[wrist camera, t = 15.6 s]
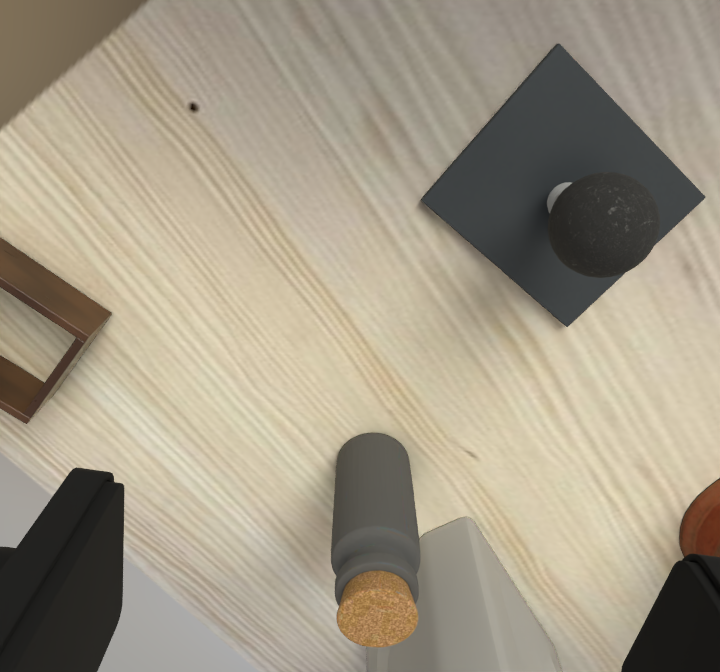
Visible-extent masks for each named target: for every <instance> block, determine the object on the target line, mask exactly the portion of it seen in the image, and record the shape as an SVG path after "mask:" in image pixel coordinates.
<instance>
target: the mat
mask: <svg viewBox="0 0 720 672" xmlns="http://www.w3.org/2000/svg"><path fill="white" fill-rule="evenodd" d="M600 172H615V173H620V174H624V175H627V176H630V177H632V178H634V179H636V180H637V181H638V182H640V183H641V184H643V185H644V186H645V187H646V188H647V189H648V190H649V192H650V193H651V194H652V195H653V197H654V199H655V201H656V204H657V206H658V210H659V214H660V229H659V235H658V237H657V240H656V243H658V242H659V241H660V240H661V239H662V238H663V237H664V236H665V235H666V234H667V233H668V232H669V231H670V230H671V229H672V228H674V227H675V226H676V225H677V224H678V223H679V222H680V221H681V220H682V219H683V218H684V217H685V216H686V215H687V214H688V213H690V212H691V211H692V210H693V209H694V208H695V207H696V206H697V205H698V204H699V203H700V202H701V201H702V200H703V199H704V198H705V196H704V195H703V194H702V193H701V192H700V191H699V190H698V189H697V187H696V186H695V185H694V184H693V183H692V182H691V181H690V180H689V179H688V178H687V177H686V176H685V175H684V174H683V173H682V172H681V171H680V170H679V169H678V168H677V167H676V165H675V164H674V163H673V162H672V161H671V160H670V159H669V158H668V157H667V156H666V155H665V154H664V153H663V152H662V151H661V150H660V149H659V148H658V147H657V146H656V145H655V143H654V142H653V141H652V140H651V139H650V138H649V137H648V136H647V135H646V134H645V133H644V132H643V131H642V130H641V129H640V128H639V127H638V126H637V125H636V124H635V122H634V121H633V120H632V119H631V118H630V117H629V116H628V115H627V114H626V113H625V112H624V111H623V110H622V109H621V108H620V107H619V106H618V105H617V104H616V103H615V102H614V100H613V99H612V98H611V97H610V96H609V95H608V94H607V93H606V92H605V91H604V90H603V89H602V88H601V87H600V86H599V85H598V84H597V83H596V82H595V81H594V80H593V78H592V77H591V76H590V75H589V74H588V73H587V72H586V71H585V70H584V69H583V68H582V67H581V66H580V65H579V64H578V63H577V62H576V61H575V60H574V59H573V58H572V56H571V55H570V54H569V53H568V52H567V51H566V50H565V49H564V48H563V47H562V46H561V45H560V44H556V45H555V47H554V48H553V49H552V50H551V51H550V52H549V53H548V55H547V56H546V57H545V58H544V59H543V60H542V61H541V63H540V64H539V65H538V66H537V67H536V68H535V69H534V71H533V72H532V73H531V74H530V75H529V76H528V77H527V79H526V80H525V81H524V82H523V83H522V84H521V85H520V87H519V88H518V89H517V90H516V91H515V92H514V93H513V95H512V96H511V97H510V98H509V99H508V100H507V101H506V103H505V104H504V105H503V106H502V107H501V108H500V109H499V111H498V112H497V113H496V114H495V115H494V116H493V117H492V119H491V120H490V121H489V122H488V123H487V124H486V125H485V127H484V128H483V129H482V130H481V131H480V132H479V133H478V135H477V136H476V137H475V138H474V139H473V140H472V141H471V143H470V144H469V145H468V146H467V147H466V148H465V150H464V151H463V152H462V153H461V154H460V155H459V156H458V158H457V159H456V160H455V161H454V162H453V163H452V164H451V166H450V167H449V168H448V169H447V170H446V171H445V172H444V174H443V175H442V176H441V177H440V178H439V179H438V180H437V182H436V183H435V184H434V185H433V186H432V187H431V188H430V190H429V191H428V192H427V193H426V194H425V195H424V196H423V198H422V199H421V200H422V201H423V202H424V203H425V204H426V205H427V206H428V207H429V208H431V209H432V210H433V211H434V212H435V213H436V214H437V215H439V216H440V217H441V218H442V219H443V220H444V221H446V222H447V223H448V224H449V225H450V226H451V227H452V228H454V229H455V230H456V231H457V232H458V233H459V234H460V235H462V236H463V237H464V238H465V239H466V240H467V241H468V242H470V243H471V244H472V245H473V246H474V247H475V248H477V249H478V250H479V251H480V252H481V253H482V254H483V255H485V256H486V257H487V258H488V259H489V260H490V261H491V262H493V263H494V264H495V265H496V266H497V267H498V268H500V269H501V270H502V271H503V272H504V273H505V274H506V275H508V276H509V277H510V278H511V279H512V280H513V281H514V282H516V283H517V284H518V285H519V286H520V287H521V288H523V289H524V290H525V291H526V292H527V293H528V294H529V295H531V296H532V297H533V298H534V299H535V300H536V301H537V302H539V303H540V304H541V305H542V306H543V307H544V308H545V309H547V310H548V311H549V312H550V313H551V314H552V315H554V316H555V317H556V318H557V319H558V320H559V321H560V322H562V323H563V324H564V325H565V326H566V327H568V326H569V325H570V324H571V323H572V322H573V321H574V320H575V319H576V318H578V317H579V316H580V315H581V314H582V313H583V312H584V311H585V310H586V309H587V308H588V307H589V306H590V305H591V304H592V303H594V302H595V301H596V300H597V299H598V298H599V297H600V296H601V295H602V294H603V293H604V292H605V291H606V290H607V289H608V288H610V287H611V286H612V285H613V284H614V283H615V282H616V281H617V280H618V279H619V278H620V277H621V276H622V275H623V274H624V273H623V274H620V275H617V276H613V277H605V278H596V277H588V276H585V275H582V274H579V273H577V272H575V271H573V270H571V269H570V268H568V267H567V266H565V265H564V264H563V263H562V262H561V261H560V260H559V259H558V257H557V255H556V254H555V252H554V251H553V249H552V246H551V244H550V241H549V235H548V219H549V215H550V213H549V211H548V207H547V200H548V196H549V194H550V192H551V191H552V190H553V189H554V188H555V187H556V186H558V185H560V184H562V183H565V182H571V183H573V182H575V181H577V180H579V179H581V178H582V177H584V176H587V175H590V174H594V173H600ZM656 243H655V244H656ZM625 273H626V272H625Z"/></svg>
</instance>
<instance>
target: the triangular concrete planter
mask: <svg viewBox="0 0 720 672" xmlns="http://www.w3.org/2000/svg"><path fill="white" fill-rule="evenodd" d="M419 543H420V554H421V562H420V567H419V570H418V572H417V574H416V575H417V579H418V585H419V597H418V600H417V603H416V608H417V611H418V623H417V626H416V628H415V630H414V632H413V633H412V634H411V635H410V636H409V637H408V638H406V639H405V640H404V641H402V642H400V643H398V644H395V645H392V646H388V647H379V648H377V647H367V646H366V661H367V672H563V671H562V668H561V665H560V662H559V659H558V656H557V653H556V650H555V647H554V645H553V643H552V642H551V640H550V639H549V637H548V636H547V634H546V632H545V631H544V629H543V628H542V626H541V625H540V623H539V622H538V620H537V618H536V617H535V615H534V614H533V612H532V611H531V609H530V608H529V606H528V604H527V603H526V601H525V600H524V598H523V597H522V595H521V593H520V592H519V590H518V589H517V587H516V586H515V584H514V583H513V581H512V579H511V578H510V576H509V575H508V573H507V572H506V570H505V569H504V567H503V565H502V564H501V562H500V561H499V559H498V558H497V556H496V555H495V553H494V551H493V550H492V548H491V547H490V545H489V544H488V542H487V541H486V539H485V537H484V536H483V534H482V533H481V531H480V530H479V528H478V527H477V525H476V523H475V522H474V521H473V520H472V519H471V518H467V517H464V518H459V519H457V520H455V521H452V522H450V523H448V524H446V525H443V526H441V527H439V528H437V529H434V530H432V531H430V532H428V533H426V534H424V535H423V536H422V537H421V538H420V539H419Z"/></svg>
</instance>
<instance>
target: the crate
mask: <svg viewBox="0 0 720 672" xmlns="http://www.w3.org/2000/svg"><path fill="white" fill-rule="evenodd" d="M0 287H1V288H3V289H4V290H6V291H7V292H9V293H10V294H12V295H13V296H15V297H17V298H18V299H20V300H21V301H23V302H24V303H26V304H27V305H29V306H30V307H32V308H33V309H35V310H36V311H38V312H39V313H41V314H42V315H44V316H45V317H47V318H49V319H50V320H52V321H53V322H55V323H56V324H58V325H59V326H61V327H62V328H64V329H65V330H67V331H68V332H70V333H71V334H73V335H74V336H76V337H77V338H76V340H75V341H74V342H73V344H72V345H71V347H70V348H69V350H68V351H67V352H66V354H65V355H64V357H63V358H62V359H61V361H60V362H59V364H58V365H57V367H56V368H55V369H54V371H53V372H52V374H51V375H50V376H49V378H48V379H47V381H46V382H45V383H44V382H42V381H40V380H39V379H37V378H36V377H34V376H32V375H31V374H29V373H28V372H26V371H24V370H23V369H21V368H19V367H18V366H16V365H15V364H13V363H11V362H10V361H8V360H7V359H5V358H3V357H2V356H0V409H2V410H4V411H6V412H7V413H9V414H11V415H12V416H14V417H16V418H17V419H19V420H21V421H22V422H24V423H26V424H27V423H28V422H29V421H30V420H31V419H32V418H33V417H34V416H35V415H36V414H37V413H38V411H39V410H40V409H41V408H42V407H43V406H44V405H45V404H46V403H47V402H48V401H49V400H50V398H51V397H52V396H53V395H54V394H55V392H56V391H57V390H58V388H59V387H60V385H61V384H62V383H63V381H64V380H65V378H66V377H67V376H68V374H69V373H70V372H71V370H72V369H73V367H74V366H75V365H76V363H77V362H78V360H79V359H80V358H81V356H82V355H83V353H84V352H85V351H86V349H87V348H88V347H89V345H90V344H91V342H92V341H93V340H94V338H95V337H96V335H97V334H98V333H99V331H100V330H101V328H102V327H103V326H104V324H105V323H106V322H107V320H108V319H109V317H110V316H111V315H112V313H111V312H109V311H108V310H106V309H105V308H103V307H102V306H100V305H99V304H97V303H96V302H94V301H93V300H91V299H90V298H88V297H87V296H86V295H84V294H83V293H81V292H80V291H78V290H77V289H75V288H74V287H72V286H71V285H69V284H68V283H66V282H65V281H63V280H62V279H60V278H59V277H58V276H56V275H55V274H53V273H52V272H50V271H49V270H47V269H46V268H44V267H43V266H41V265H40V264H38V263H37V262H35V261H34V260H32V259H31V258H30V257H28V256H27V255H25V254H24V253H22V252H21V251H19V250H18V249H16V248H15V247H13V246H12V245H10V244H9V243H7V242H6V241H5V240H3V239H2V238H0Z"/></svg>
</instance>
